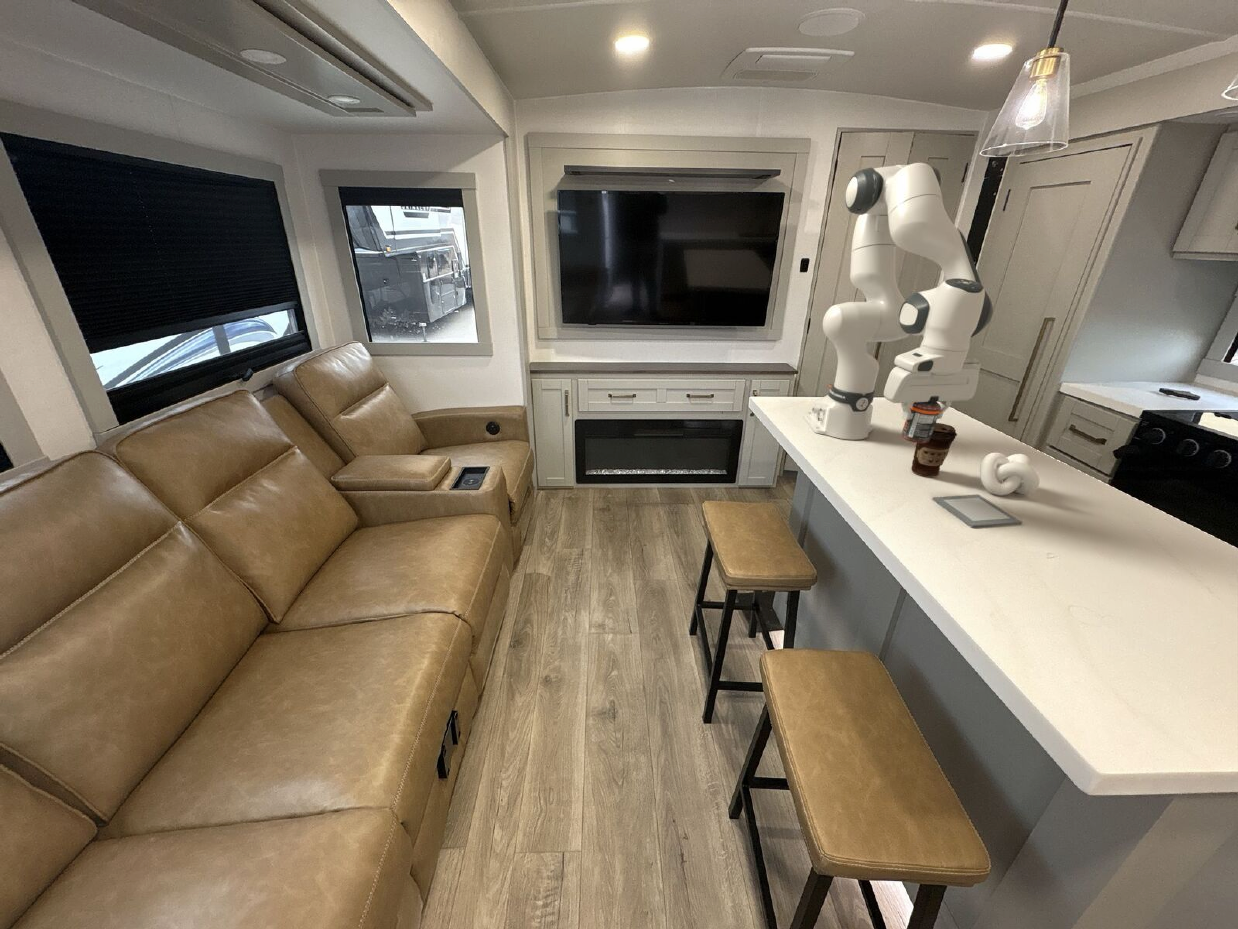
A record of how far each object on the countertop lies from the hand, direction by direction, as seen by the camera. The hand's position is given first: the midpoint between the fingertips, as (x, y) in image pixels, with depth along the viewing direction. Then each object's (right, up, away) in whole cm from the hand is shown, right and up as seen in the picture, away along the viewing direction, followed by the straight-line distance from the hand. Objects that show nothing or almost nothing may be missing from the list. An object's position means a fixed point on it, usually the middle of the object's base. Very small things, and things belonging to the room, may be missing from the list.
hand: (921, 418), depth 112 cm
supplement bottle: (0, -5, +2) cm, 5 cm away
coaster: (+11, -21, -1) cm, 24 cm away
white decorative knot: (+25, -17, +9) cm, 31 cm away
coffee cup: (+11, -13, +16) cm, 23 cm away
